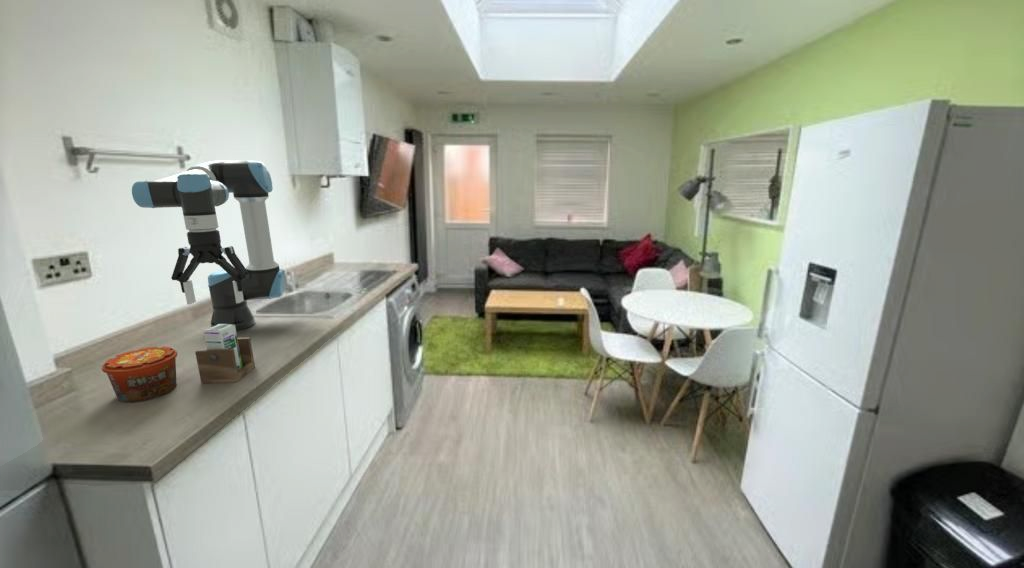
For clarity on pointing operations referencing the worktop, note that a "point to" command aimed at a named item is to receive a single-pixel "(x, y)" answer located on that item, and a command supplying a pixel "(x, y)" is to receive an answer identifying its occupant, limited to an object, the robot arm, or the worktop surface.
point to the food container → (142, 373)
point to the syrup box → (223, 340)
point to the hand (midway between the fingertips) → (215, 302)
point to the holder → (225, 363)
